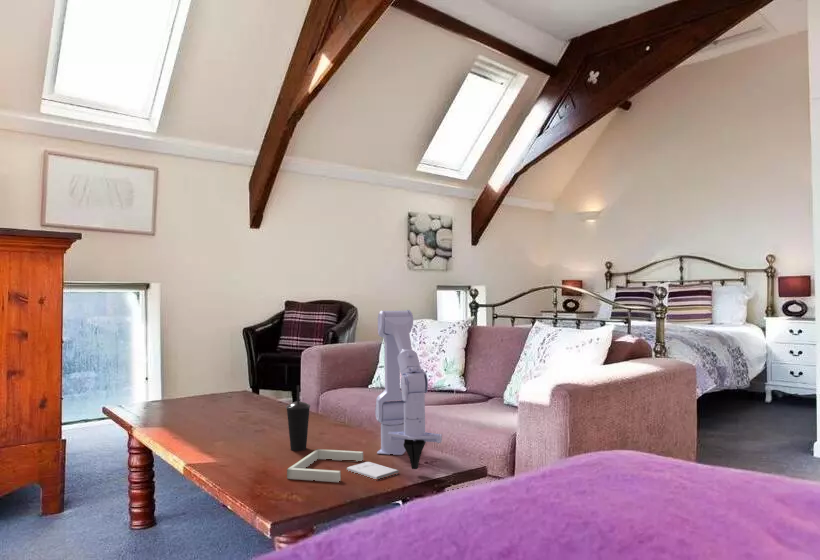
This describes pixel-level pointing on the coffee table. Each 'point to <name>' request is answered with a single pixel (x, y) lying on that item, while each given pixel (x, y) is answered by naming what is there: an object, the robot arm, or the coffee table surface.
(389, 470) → the external hard drive
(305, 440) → the drinking cup
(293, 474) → the open u-shaped rail
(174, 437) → the coffee table surface
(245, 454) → the coffee table surface
